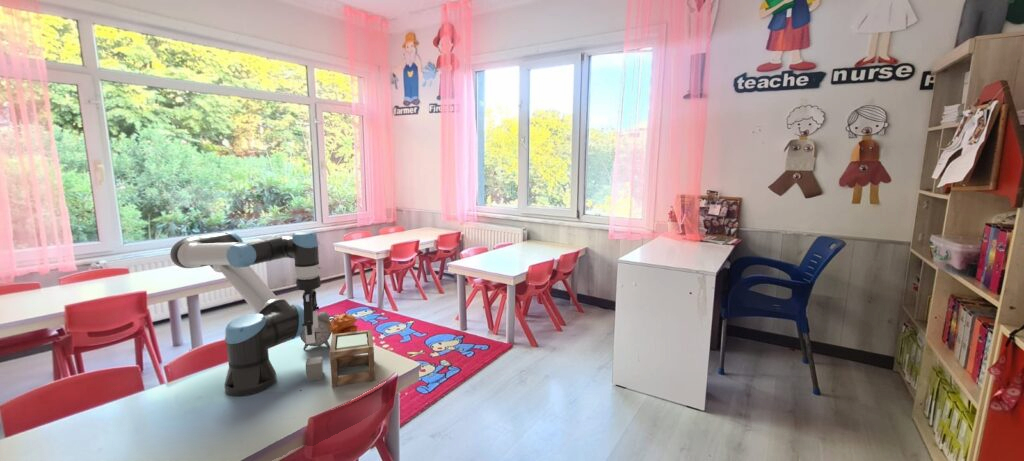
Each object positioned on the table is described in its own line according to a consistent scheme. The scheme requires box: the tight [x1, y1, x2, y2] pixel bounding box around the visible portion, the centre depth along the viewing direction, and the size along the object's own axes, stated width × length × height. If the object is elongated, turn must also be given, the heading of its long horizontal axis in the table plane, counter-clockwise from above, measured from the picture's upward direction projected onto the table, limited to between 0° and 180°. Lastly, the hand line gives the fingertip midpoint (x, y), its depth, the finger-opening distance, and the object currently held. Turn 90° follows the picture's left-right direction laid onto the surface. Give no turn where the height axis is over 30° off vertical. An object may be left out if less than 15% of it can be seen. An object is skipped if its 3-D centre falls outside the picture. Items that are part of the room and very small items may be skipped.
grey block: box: [305, 356, 324, 382], centre depth 152 cm, size 5×5×6 cm
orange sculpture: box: [330, 311, 359, 358], centre depth 166 cm, size 11×11×18 cm
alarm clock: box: [299, 311, 332, 351], centre depth 175 cm, size 12×7×15 cm, turn 104°
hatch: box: [337, 334, 368, 350], centre depth 154 cm, size 10×10×1 cm
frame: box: [329, 329, 376, 388], centre depth 154 cm, size 14×16×12 cm
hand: (312, 335), depth 150 cm, fingers open, 13 cm apart
